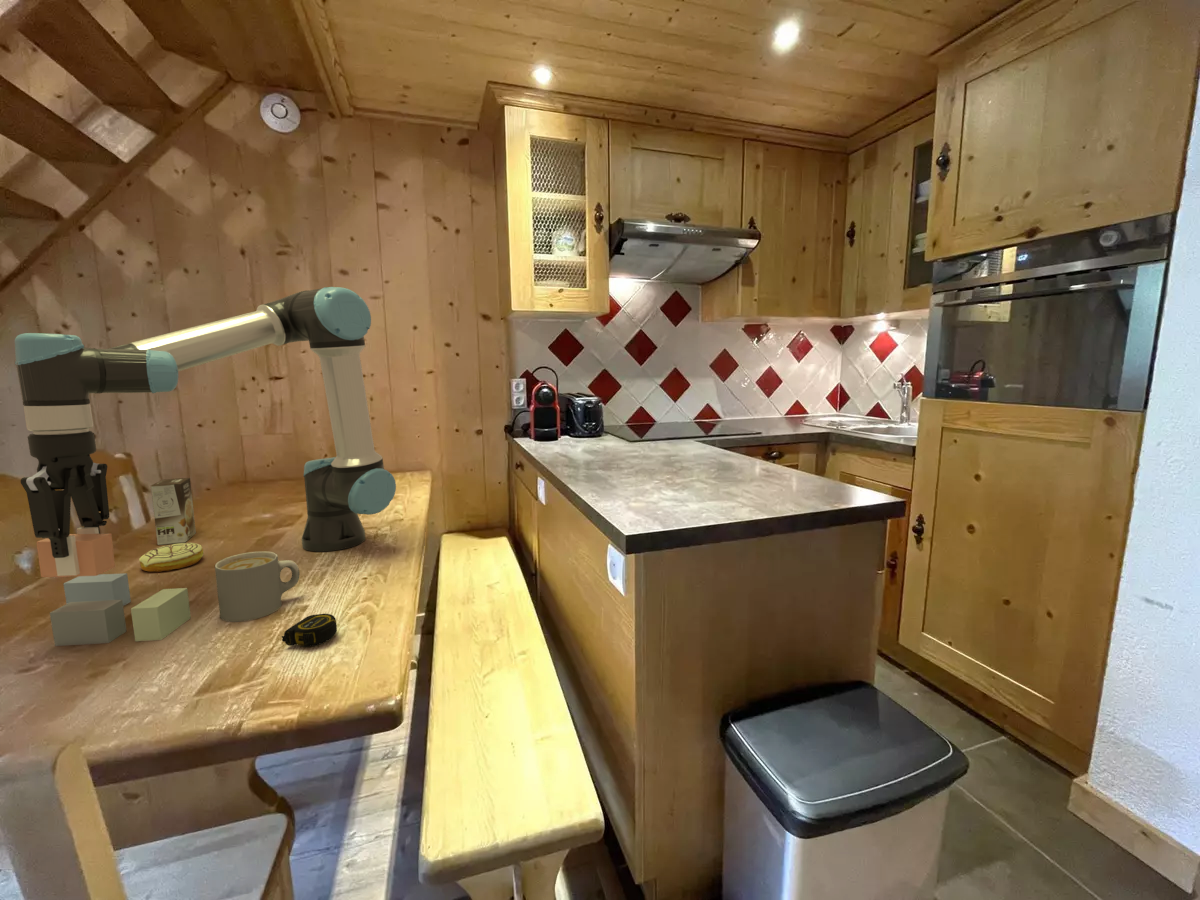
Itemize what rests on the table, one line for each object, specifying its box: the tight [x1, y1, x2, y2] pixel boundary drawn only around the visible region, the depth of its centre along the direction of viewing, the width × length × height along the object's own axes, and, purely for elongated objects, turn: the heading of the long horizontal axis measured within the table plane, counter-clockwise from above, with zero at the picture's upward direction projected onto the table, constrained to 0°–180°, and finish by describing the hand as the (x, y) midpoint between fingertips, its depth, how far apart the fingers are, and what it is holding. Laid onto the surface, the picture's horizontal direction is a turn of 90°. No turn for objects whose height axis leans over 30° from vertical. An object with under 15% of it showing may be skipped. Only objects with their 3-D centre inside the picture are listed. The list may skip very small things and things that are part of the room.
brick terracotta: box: [36, 533, 116, 578], centre depth 87 cm, size 8×4×6 cm, turn 98°
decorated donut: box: [138, 542, 204, 573], centre depth 123 cm, size 11×12×4 cm
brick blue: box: [63, 573, 132, 607], centre depth 100 cm, size 8×4×6 cm, turn 98°
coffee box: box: [150, 477, 197, 546], centre depth 140 cm, size 9×6×16 cm
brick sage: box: [130, 587, 192, 642], centre depth 92 cm, size 8×4×6 cm, turn 8°
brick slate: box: [49, 600, 127, 647], centre depth 88 cm, size 8×4×6 cm, turn 98°
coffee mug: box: [214, 550, 300, 623], centre depth 100 cm, size 13×10×10 cm
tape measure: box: [281, 613, 338, 648], centre depth 89 cm, size 7×7×4 cm
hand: (80, 569), depth 87 cm, fingers closed on brick terracotta, 4 cm apart
